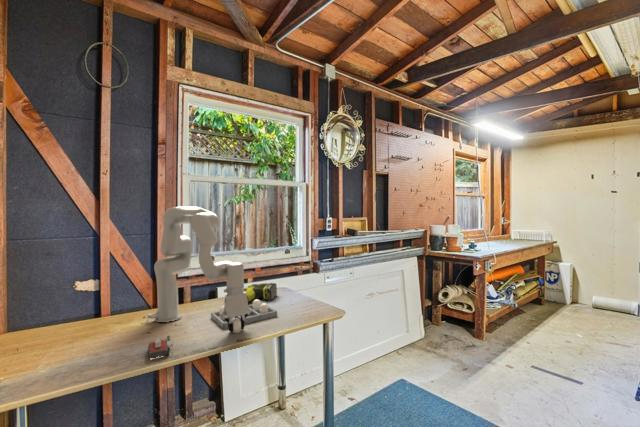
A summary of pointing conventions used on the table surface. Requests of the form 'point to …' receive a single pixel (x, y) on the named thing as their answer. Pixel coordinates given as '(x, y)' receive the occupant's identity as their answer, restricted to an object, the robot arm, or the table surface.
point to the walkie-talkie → (160, 347)
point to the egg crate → (257, 313)
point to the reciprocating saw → (261, 291)
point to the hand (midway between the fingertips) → (236, 329)
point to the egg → (236, 325)
